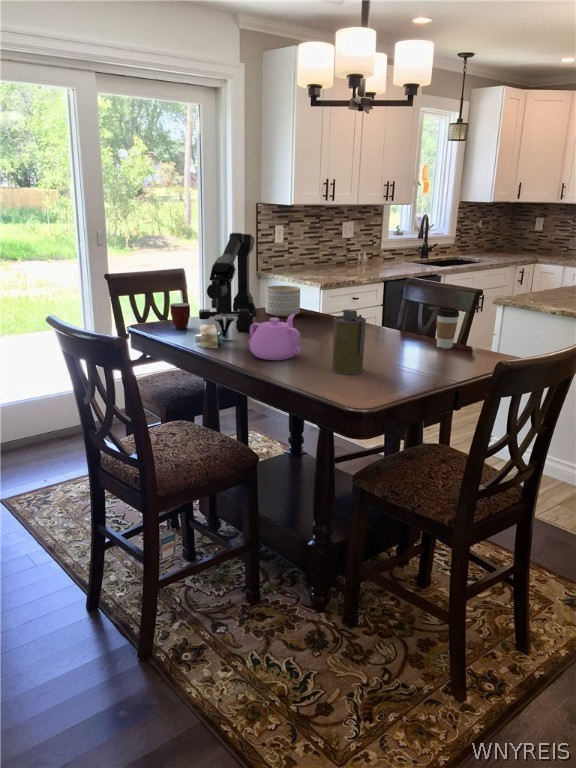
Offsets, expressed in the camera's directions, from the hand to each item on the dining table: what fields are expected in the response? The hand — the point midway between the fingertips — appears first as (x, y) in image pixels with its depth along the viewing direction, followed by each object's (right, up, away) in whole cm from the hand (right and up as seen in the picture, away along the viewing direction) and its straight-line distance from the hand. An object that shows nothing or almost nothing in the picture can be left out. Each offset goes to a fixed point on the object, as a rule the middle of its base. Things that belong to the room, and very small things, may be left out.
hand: (224, 336), depth 229 cm
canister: (+44, -14, -29) cm, 54 cm away
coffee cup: (+85, -4, +6) cm, 85 cm away
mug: (-21, +5, +26) cm, 34 cm away
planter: (+21, +15, +61) cm, 67 cm away
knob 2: (-3, 0, +8) cm, 9 cm away
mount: (-7, -2, +4) cm, 8 cm away
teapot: (+20, -8, -12) cm, 25 cm away
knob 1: (-6, -3, 0) cm, 7 cm away
